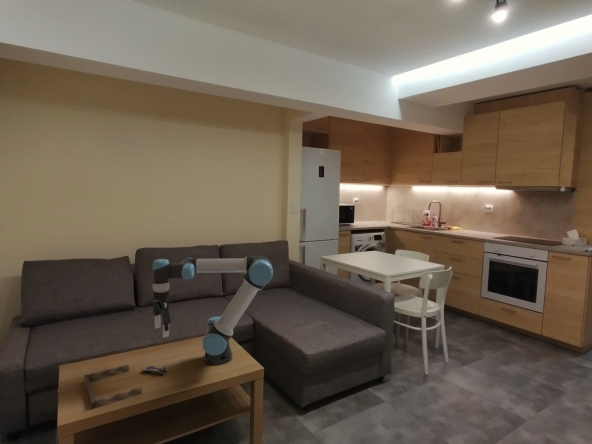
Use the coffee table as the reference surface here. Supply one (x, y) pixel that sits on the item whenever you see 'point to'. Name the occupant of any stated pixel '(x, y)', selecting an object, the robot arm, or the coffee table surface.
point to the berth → (112, 398)
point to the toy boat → (156, 370)
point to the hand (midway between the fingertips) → (161, 332)
